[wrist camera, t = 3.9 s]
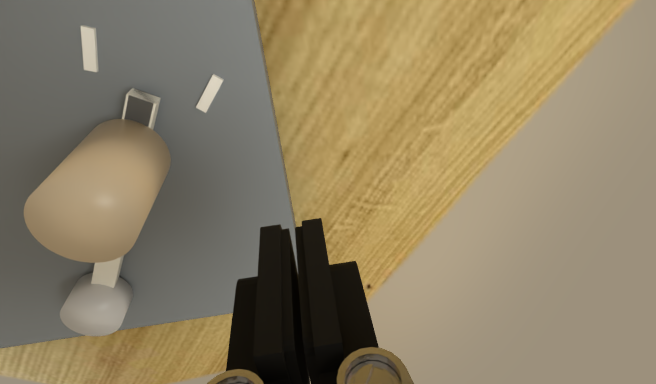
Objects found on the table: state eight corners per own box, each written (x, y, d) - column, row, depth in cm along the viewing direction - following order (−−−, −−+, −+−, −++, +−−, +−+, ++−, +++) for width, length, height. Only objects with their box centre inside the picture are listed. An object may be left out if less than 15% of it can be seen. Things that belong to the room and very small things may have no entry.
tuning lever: (131, 313, 25) (93, 410, 20) (69, 302, 24) (12, 401, 19) (188, 106, 18) (152, 174, 13) (103, 76, 17) (28, 137, 12)
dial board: (236, -96, 15) (232, -100, 14) (306, 285, 28) (308, 304, 26) (-401, -24, 15) (-474, -20, 13) (-37, 336, 27) (-54, 358, 25)
